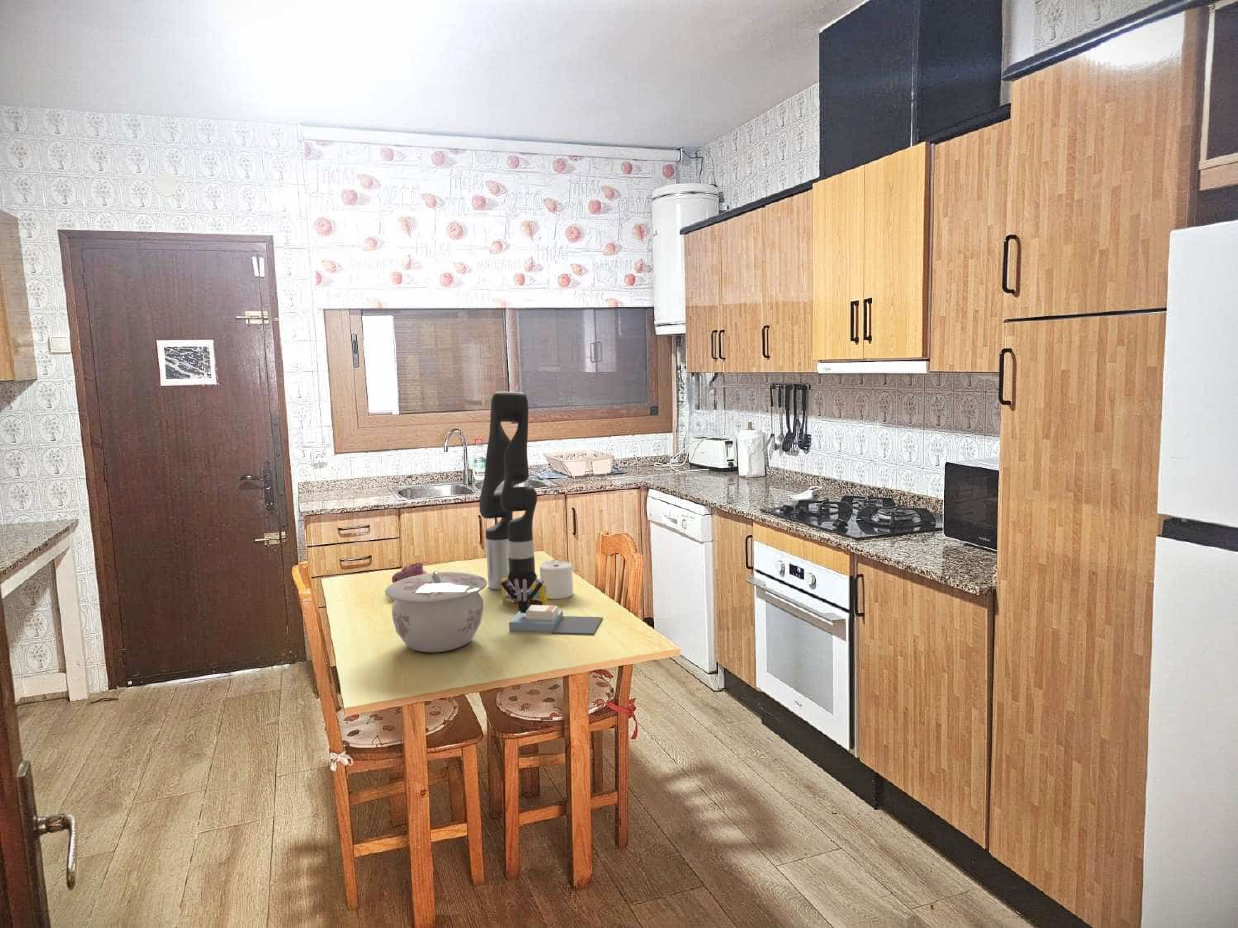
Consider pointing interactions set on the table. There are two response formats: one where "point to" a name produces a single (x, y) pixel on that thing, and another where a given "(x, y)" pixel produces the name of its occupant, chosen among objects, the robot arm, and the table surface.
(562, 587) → the toilet tissue
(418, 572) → the flower
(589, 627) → the mat
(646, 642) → the table surface
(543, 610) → the striped white eraser
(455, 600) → the chamber pot
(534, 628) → the light blue flat block
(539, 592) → the candy box
